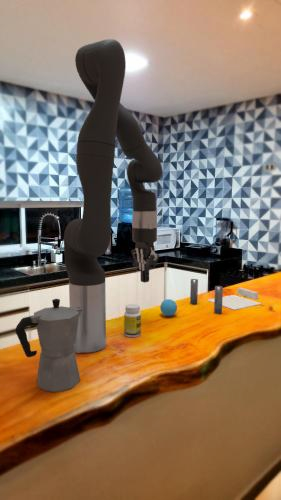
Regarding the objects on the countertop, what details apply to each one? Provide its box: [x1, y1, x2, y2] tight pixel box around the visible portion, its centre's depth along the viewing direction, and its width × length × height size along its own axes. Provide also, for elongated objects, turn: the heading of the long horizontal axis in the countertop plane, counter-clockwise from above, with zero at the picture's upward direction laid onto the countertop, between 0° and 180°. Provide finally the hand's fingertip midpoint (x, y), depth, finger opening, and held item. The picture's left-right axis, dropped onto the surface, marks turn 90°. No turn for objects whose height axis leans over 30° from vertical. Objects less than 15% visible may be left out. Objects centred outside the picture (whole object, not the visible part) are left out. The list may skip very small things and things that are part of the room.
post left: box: [189, 278, 199, 306], centre depth 133 cm, size 3×3×9 cm
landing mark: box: [206, 294, 263, 311], centre depth 136 cm, size 14×14×1 cm
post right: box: [213, 285, 224, 315], centre depth 123 cm, size 3×3×9 cm
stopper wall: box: [237, 287, 259, 300], centre depth 144 cm, size 2×9×2 cm, turn 32°
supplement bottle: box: [123, 303, 142, 338], centre depth 104 cm, size 5×5×8 cm
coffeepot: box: [15, 298, 84, 393], centre depth 76 cm, size 15×9×18 cm, turn 134°
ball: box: [159, 299, 178, 317], centre depth 120 cm, size 6×6×6 cm
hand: (144, 281), depth 114 cm, fingers closed
